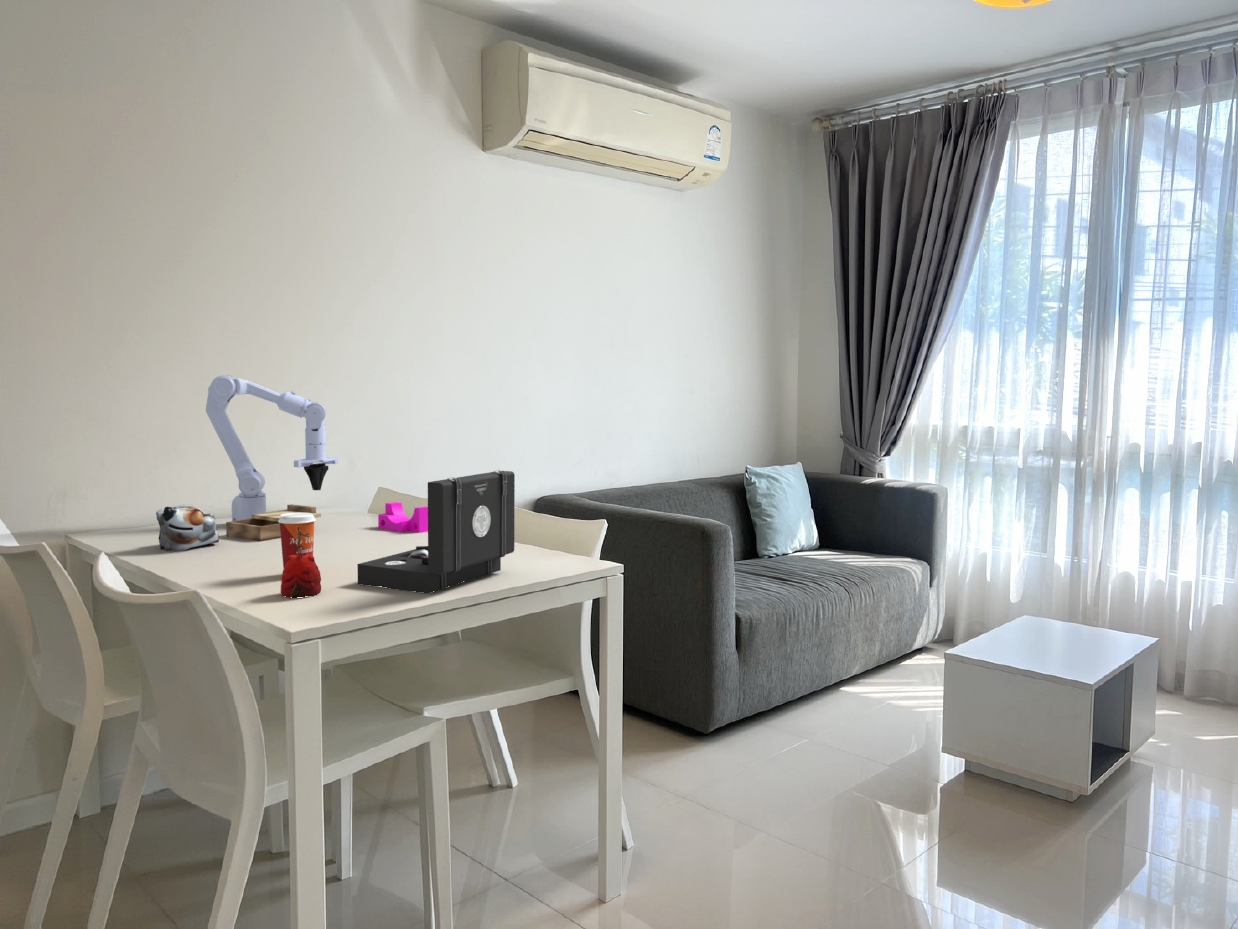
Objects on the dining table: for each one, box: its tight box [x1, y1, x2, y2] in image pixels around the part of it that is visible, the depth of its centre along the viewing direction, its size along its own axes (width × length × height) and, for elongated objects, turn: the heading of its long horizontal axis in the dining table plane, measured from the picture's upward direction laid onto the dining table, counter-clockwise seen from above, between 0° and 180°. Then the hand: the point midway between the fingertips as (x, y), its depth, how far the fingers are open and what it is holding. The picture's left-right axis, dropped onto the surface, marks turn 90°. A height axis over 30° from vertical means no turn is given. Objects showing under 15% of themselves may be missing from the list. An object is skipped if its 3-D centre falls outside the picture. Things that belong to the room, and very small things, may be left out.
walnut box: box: [225, 518, 281, 542], centre depth 247 cm, size 14×12×4 cm
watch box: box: [357, 469, 516, 594], centre depth 196 cm, size 26×28×24 cm
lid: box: [251, 503, 322, 522], centre depth 254 cm, size 14×12×3 cm
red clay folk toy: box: [280, 526, 322, 598], centre depth 179 cm, size 8×7×15 cm
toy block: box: [377, 501, 428, 534], centre depth 258 cm, size 15×6×8 cm, turn 52°
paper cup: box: [278, 512, 317, 569], centre depth 197 cm, size 8×8×14 cm
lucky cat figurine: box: [155, 504, 220, 552], centre depth 228 cm, size 15×12×14 cm
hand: (316, 490), depth 268 cm, fingers closed
